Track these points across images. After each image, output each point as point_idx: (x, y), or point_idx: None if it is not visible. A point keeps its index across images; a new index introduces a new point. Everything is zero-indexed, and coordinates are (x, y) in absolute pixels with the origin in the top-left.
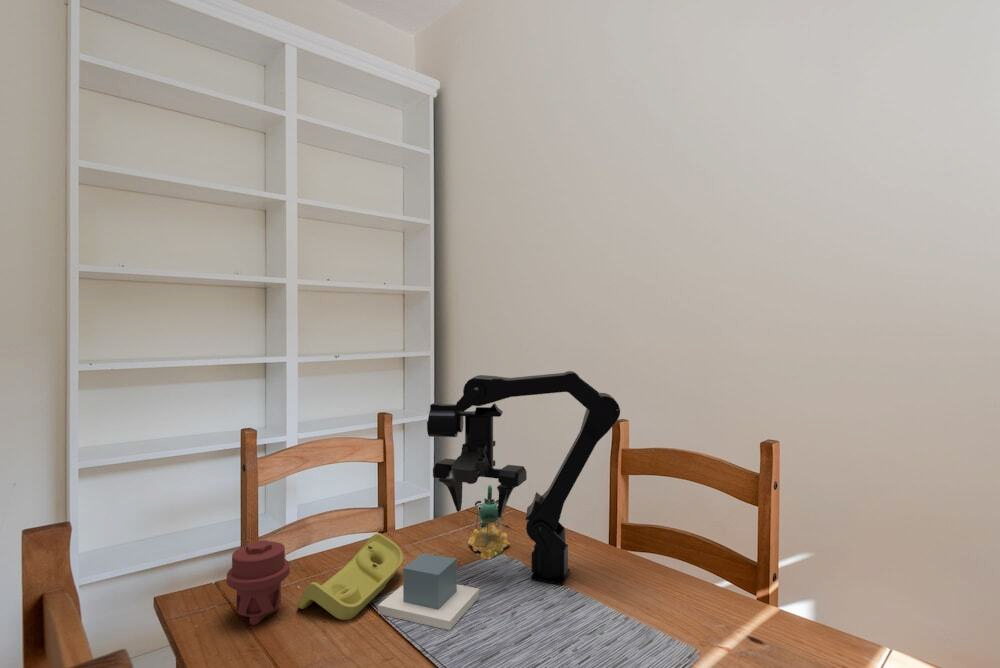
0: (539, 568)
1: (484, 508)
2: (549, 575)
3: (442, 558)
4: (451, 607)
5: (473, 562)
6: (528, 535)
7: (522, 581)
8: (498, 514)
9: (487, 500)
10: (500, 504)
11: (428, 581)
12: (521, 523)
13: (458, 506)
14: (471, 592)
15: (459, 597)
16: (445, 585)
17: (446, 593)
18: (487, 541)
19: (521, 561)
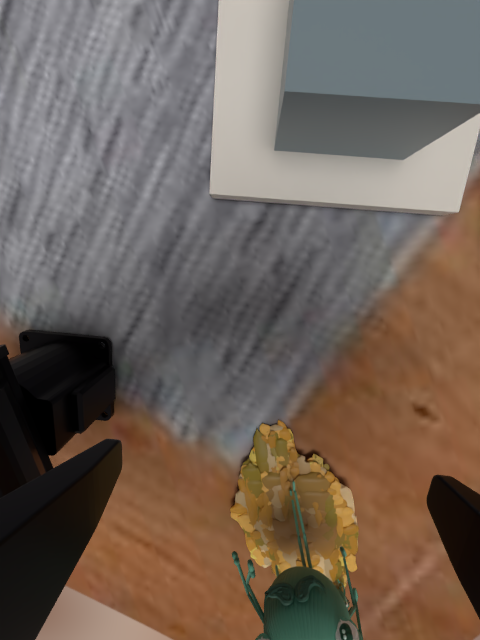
0: (74, 359)
1: (324, 635)
2: (48, 343)
3: (361, 67)
4: (251, 25)
5: (300, 397)
6: (3, 386)
7: (131, 324)
8: (105, 448)
9: None
10: (12, 506)
11: None
12: (246, 636)
13: (464, 506)
14: (224, 158)
15: (250, 109)
16: (290, 6)
17: (285, 45)
18: (291, 503)
19: (173, 434)
